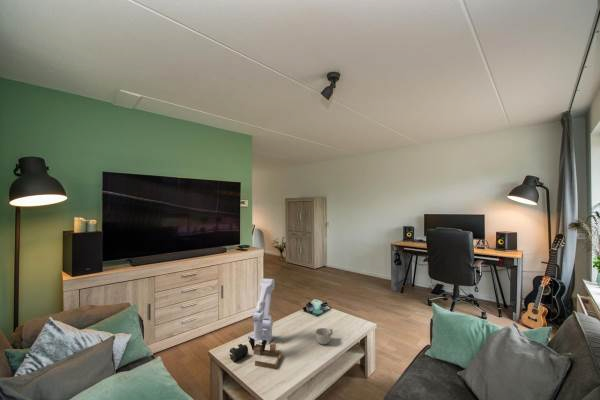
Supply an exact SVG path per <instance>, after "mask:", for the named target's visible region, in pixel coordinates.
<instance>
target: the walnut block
mask: <svg viewBox="0 0 600 400" xmlns="http://www.w3.org/2000/svg"><path fill="white" fill-rule="evenodd" d="M262 354H263V352H262V344H261V343H256V344H255V347H254V350H253V355H256V356H261V355H262Z"/></svg>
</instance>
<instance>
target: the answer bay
mask: <svg viewBox="0 0 600 400" xmlns="http://www.w3.org/2000/svg"><path fill="white" fill-rule="evenodd" d="M262 354H263V355H266V356H271V357H277V358H276V360H275V362H274V363H271V362H266V361H261V360H255V361H254V366H256V367H261V368H266V369H267V368H268V369H271V370H276V369H277V367H278V365H279V364H280V362H281V360H282V358H283V352H280V351H276V352H275V351H270V349H265V350H264V352H262Z"/></svg>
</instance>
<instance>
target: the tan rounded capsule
mask: <svg viewBox="0 0 600 400" xmlns="http://www.w3.org/2000/svg"><path fill="white" fill-rule="evenodd" d="M269 351H275V352H277V343H276V342H270V343H269Z"/></svg>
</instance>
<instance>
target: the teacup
mask: <svg viewBox="0 0 600 400" xmlns="http://www.w3.org/2000/svg"><path fill="white" fill-rule="evenodd" d="M333 331H334V330H333V329H331V328H325V327H320V328H317V329H316V330H315V340H316V342H317V343H319V344H320V345H323V346H324V345H327V344H328V343H330V341H331V336H332V335H333Z"/></svg>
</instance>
